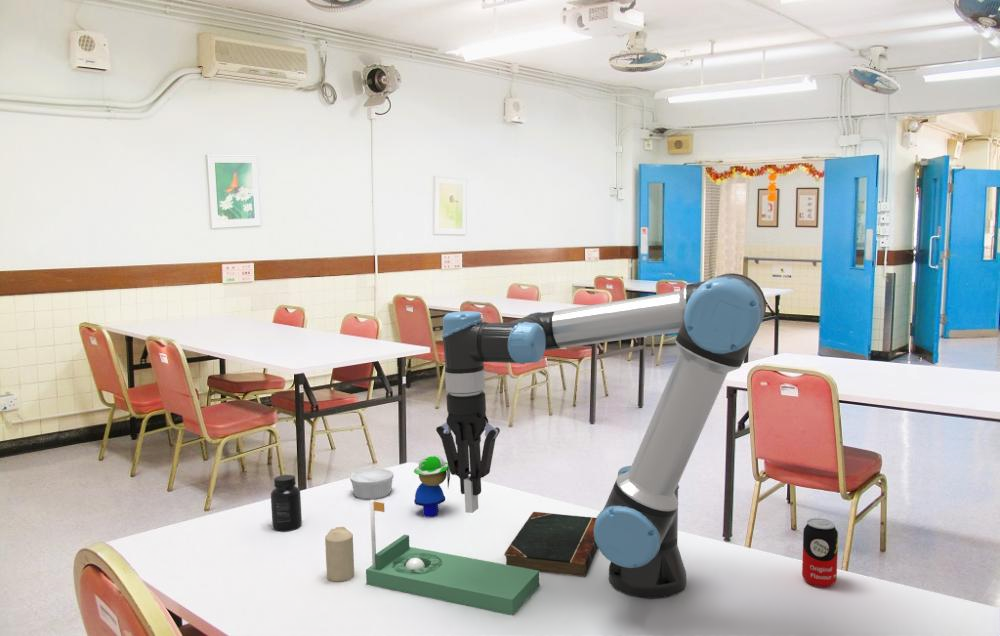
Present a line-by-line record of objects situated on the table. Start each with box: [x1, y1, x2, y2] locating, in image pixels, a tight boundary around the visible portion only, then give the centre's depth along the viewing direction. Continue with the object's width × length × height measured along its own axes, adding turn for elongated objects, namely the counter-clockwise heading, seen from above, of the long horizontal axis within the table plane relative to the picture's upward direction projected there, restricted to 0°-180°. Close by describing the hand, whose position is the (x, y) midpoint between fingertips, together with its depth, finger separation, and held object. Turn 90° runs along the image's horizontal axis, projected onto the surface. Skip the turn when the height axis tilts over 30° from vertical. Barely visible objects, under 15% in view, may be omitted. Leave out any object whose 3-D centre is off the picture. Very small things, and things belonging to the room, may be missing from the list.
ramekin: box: [349, 468, 394, 500], centre depth 212 cm, size 11×11×5 cm
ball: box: [405, 558, 425, 570], centre depth 162 cm, size 4×4×4 cm
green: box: [365, 499, 540, 616], centre depth 158 cm, size 32×13×17 cm, turn 65°
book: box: [503, 511, 599, 577], centre depth 175 cm, size 17×4×25 cm
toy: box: [413, 453, 451, 518], centre depth 197 cm, size 9×9×15 cm
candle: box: [324, 526, 355, 583], centre depth 163 cm, size 6×6×10 cm
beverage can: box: [801, 517, 839, 588], centre depth 157 cm, size 6×6×12 cm
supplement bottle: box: [270, 474, 303, 532], centre depth 190 cm, size 7×7×12 cm
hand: (472, 510), depth 157 cm, fingers closed
